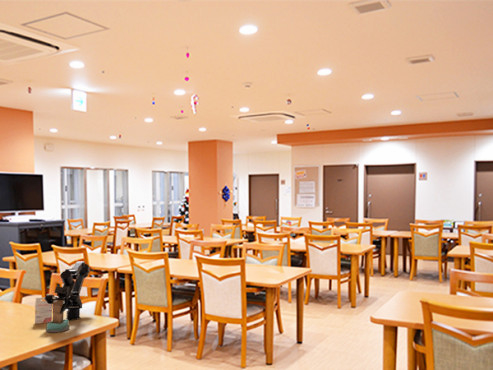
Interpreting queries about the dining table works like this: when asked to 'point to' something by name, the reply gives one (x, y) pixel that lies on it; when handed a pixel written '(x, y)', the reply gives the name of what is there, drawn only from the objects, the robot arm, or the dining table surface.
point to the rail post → (57, 311)
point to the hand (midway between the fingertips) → (56, 313)
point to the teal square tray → (57, 327)
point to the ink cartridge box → (43, 311)
